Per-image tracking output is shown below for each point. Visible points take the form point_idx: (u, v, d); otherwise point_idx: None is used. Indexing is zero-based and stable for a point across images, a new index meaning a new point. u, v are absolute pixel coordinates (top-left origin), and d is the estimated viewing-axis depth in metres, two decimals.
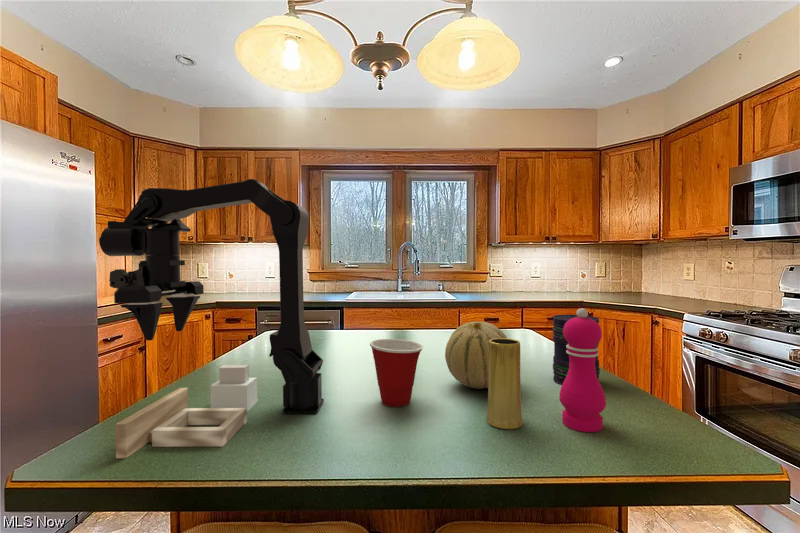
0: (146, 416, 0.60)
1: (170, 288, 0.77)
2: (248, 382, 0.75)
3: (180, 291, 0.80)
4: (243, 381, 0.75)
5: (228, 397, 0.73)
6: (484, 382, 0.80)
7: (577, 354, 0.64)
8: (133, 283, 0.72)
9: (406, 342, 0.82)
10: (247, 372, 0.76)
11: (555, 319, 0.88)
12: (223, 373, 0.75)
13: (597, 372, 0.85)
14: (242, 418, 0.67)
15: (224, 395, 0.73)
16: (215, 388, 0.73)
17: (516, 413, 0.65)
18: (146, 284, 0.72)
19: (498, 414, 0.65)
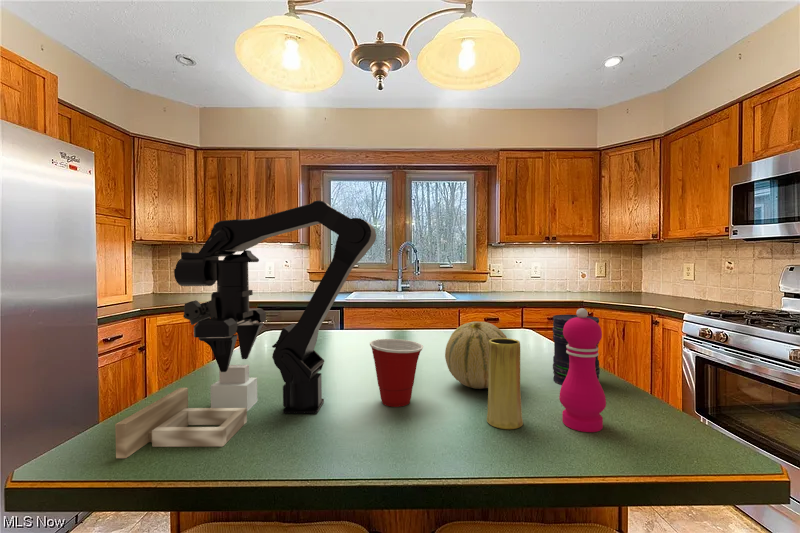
0: (146, 416, 0.60)
1: None
2: (248, 382, 0.75)
3: (246, 319, 0.80)
4: (243, 381, 0.75)
5: (228, 397, 0.73)
6: (484, 382, 0.80)
7: (577, 354, 0.64)
8: (206, 314, 0.73)
9: (406, 342, 0.82)
10: (247, 372, 0.76)
11: (555, 319, 0.88)
12: (223, 373, 0.75)
13: (597, 372, 0.85)
14: (242, 418, 0.67)
15: (224, 395, 0.73)
16: (215, 388, 0.73)
17: (516, 413, 0.65)
18: (218, 315, 0.73)
19: (498, 414, 0.65)
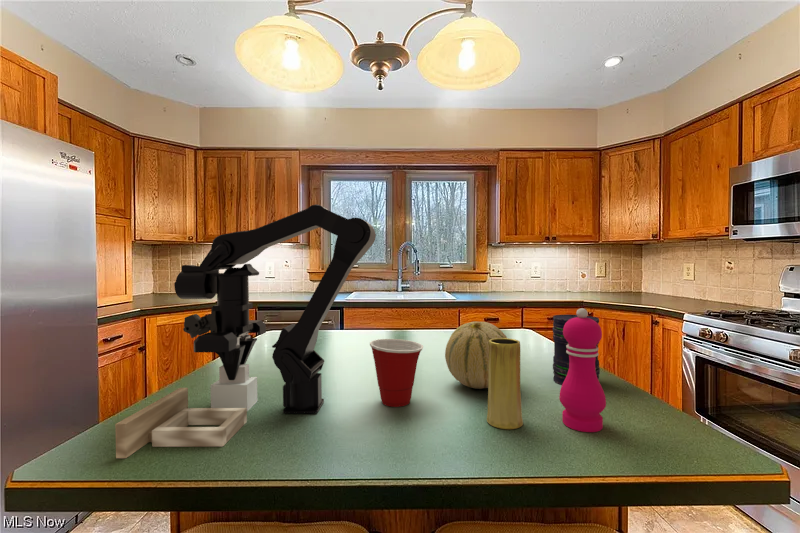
0: (146, 416, 0.60)
1: None
2: (248, 382, 0.75)
3: None
4: (243, 381, 0.75)
5: (228, 397, 0.73)
6: (484, 382, 0.80)
7: (577, 354, 0.64)
8: (206, 328, 0.73)
9: (406, 342, 0.82)
10: (247, 372, 0.76)
11: (555, 319, 0.88)
12: (223, 373, 0.75)
13: (597, 372, 0.85)
14: (242, 418, 0.67)
15: (224, 395, 0.73)
16: (215, 387, 0.73)
17: (516, 413, 0.65)
18: (218, 329, 0.73)
19: (498, 414, 0.65)
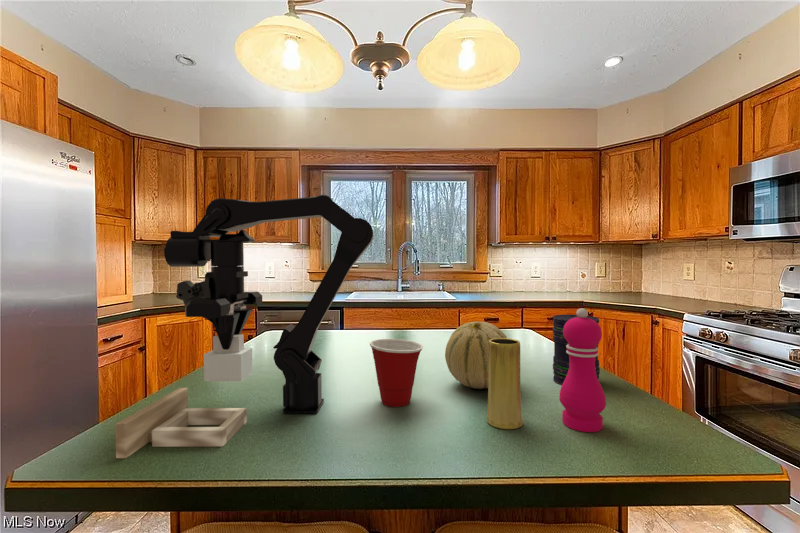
0: (146, 416, 0.60)
1: (233, 299, 0.76)
2: (242, 352, 0.73)
3: None
4: (237, 350, 0.73)
5: (222, 367, 0.71)
6: (484, 382, 0.80)
7: (577, 354, 0.64)
8: (199, 295, 0.71)
9: (406, 342, 0.82)
10: (242, 342, 0.74)
11: (555, 319, 0.88)
12: (217, 342, 0.73)
13: (597, 372, 0.85)
14: (242, 418, 0.67)
15: (218, 364, 0.71)
16: (209, 356, 0.71)
17: (516, 413, 0.65)
18: (212, 296, 0.71)
19: (498, 415, 0.65)
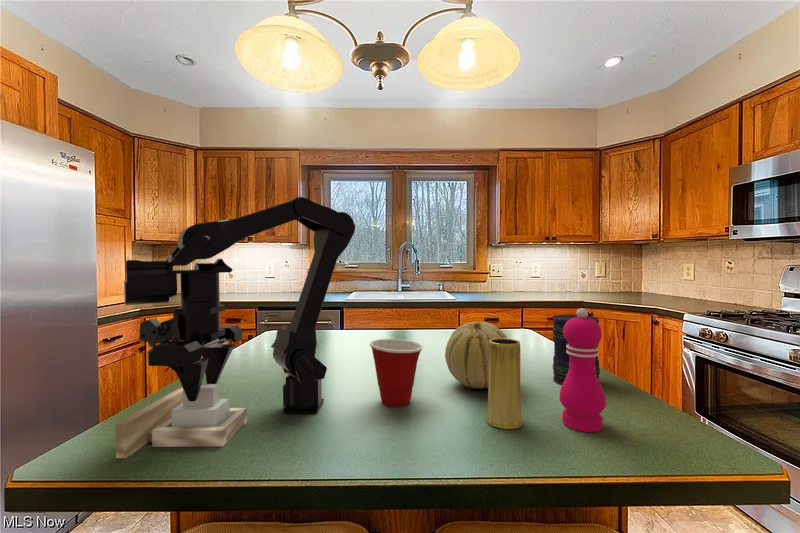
0: (146, 416, 0.60)
1: None
2: (217, 405, 0.63)
3: None
4: (211, 404, 0.63)
5: (193, 424, 0.61)
6: (484, 382, 0.80)
7: (577, 354, 0.64)
8: (166, 335, 0.61)
9: (406, 342, 0.82)
10: (217, 393, 0.64)
11: (555, 319, 0.88)
12: None
13: (597, 372, 0.85)
14: (242, 418, 0.67)
15: (188, 422, 0.61)
16: (177, 413, 0.61)
17: (516, 413, 0.65)
18: (182, 336, 0.61)
19: (498, 414, 0.65)
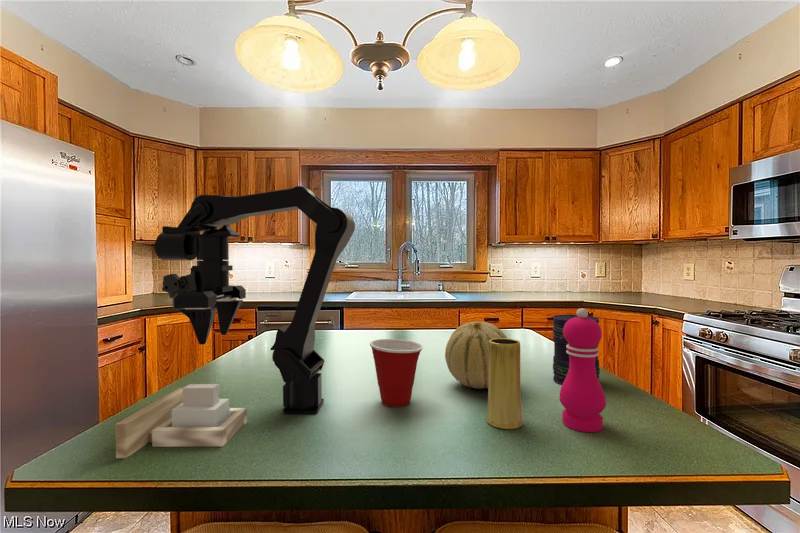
0: (146, 416, 0.60)
1: (217, 292, 0.78)
2: (217, 405, 0.63)
3: (225, 295, 0.81)
4: (211, 404, 0.63)
5: (193, 424, 0.61)
6: (484, 382, 0.80)
7: (577, 354, 0.64)
8: (185, 287, 0.74)
9: (406, 342, 0.82)
10: (217, 393, 0.64)
11: (555, 319, 0.88)
12: (187, 395, 0.63)
13: (597, 372, 0.85)
14: (242, 418, 0.67)
15: (188, 422, 0.61)
16: (177, 413, 0.61)
17: (516, 413, 0.65)
18: (198, 289, 0.74)
19: (498, 414, 0.65)
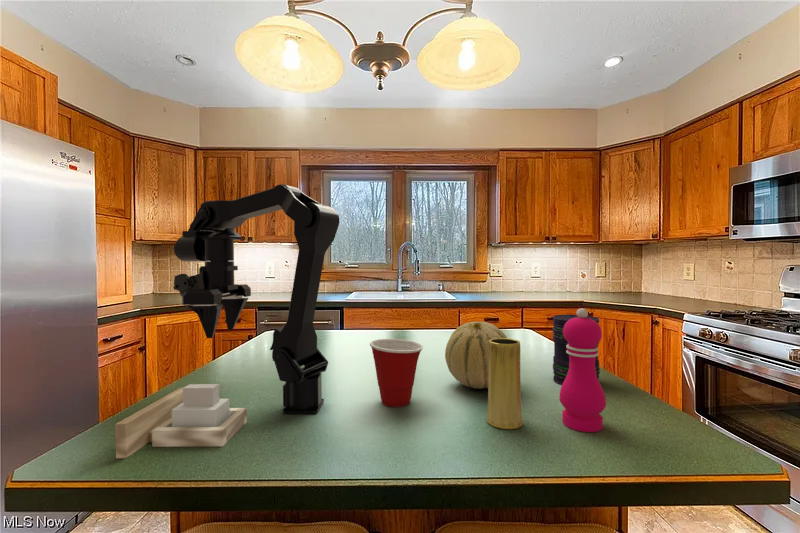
0: (146, 416, 0.60)
1: (224, 291, 0.85)
2: (217, 405, 0.63)
3: (232, 293, 0.87)
4: (211, 404, 0.63)
5: (193, 424, 0.61)
6: (484, 382, 0.80)
7: (577, 354, 0.64)
8: (194, 286, 0.80)
9: (406, 342, 0.82)
10: (217, 393, 0.64)
11: (555, 319, 0.88)
12: (188, 394, 0.63)
13: (597, 372, 0.85)
14: (242, 418, 0.67)
15: (188, 422, 0.61)
16: (177, 413, 0.61)
17: (516, 413, 0.65)
18: (206, 287, 0.80)
19: (498, 414, 0.65)
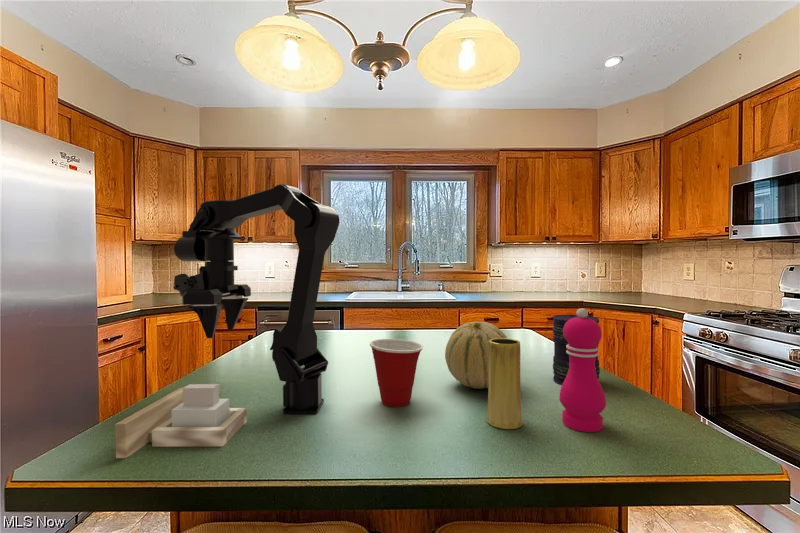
0: (146, 416, 0.60)
1: (224, 291, 0.85)
2: (217, 405, 0.63)
3: (232, 293, 0.87)
4: (211, 404, 0.63)
5: (193, 424, 0.61)
6: (484, 382, 0.80)
7: (577, 354, 0.64)
8: (194, 286, 0.80)
9: (406, 342, 0.82)
10: (217, 393, 0.64)
11: (555, 319, 0.88)
12: (187, 395, 0.63)
13: (597, 372, 0.85)
14: (242, 418, 0.67)
15: (188, 422, 0.61)
16: (177, 413, 0.61)
17: (516, 413, 0.65)
18: (206, 287, 0.80)
19: (498, 414, 0.65)
